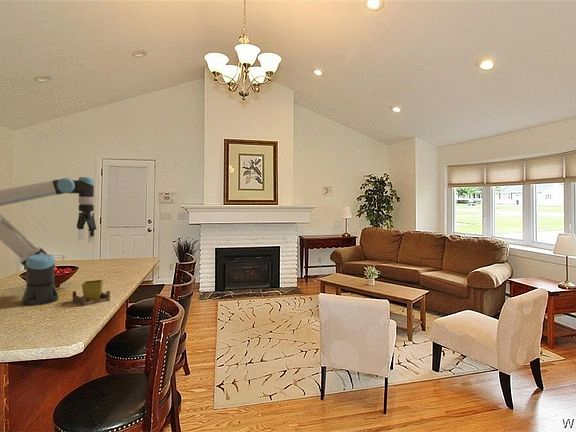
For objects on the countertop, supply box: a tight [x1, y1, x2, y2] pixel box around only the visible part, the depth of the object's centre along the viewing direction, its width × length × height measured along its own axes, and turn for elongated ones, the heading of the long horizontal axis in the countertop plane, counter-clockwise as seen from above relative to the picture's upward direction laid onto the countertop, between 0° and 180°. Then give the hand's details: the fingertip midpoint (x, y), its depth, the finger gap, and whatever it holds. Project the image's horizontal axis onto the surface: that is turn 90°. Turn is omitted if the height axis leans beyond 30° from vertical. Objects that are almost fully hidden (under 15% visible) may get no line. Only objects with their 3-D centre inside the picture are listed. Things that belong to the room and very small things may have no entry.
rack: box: [72, 290, 111, 307], centre depth 179 cm, size 13×13×5 cm
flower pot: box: [81, 279, 104, 301], centre depth 178 cm, size 9×9×9 cm
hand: (86, 241), depth 198 cm, fingers open, 13 cm apart
